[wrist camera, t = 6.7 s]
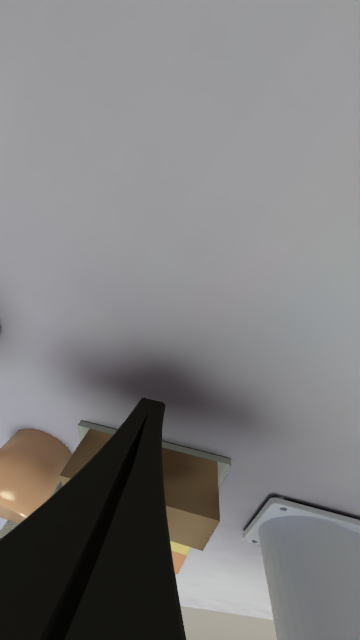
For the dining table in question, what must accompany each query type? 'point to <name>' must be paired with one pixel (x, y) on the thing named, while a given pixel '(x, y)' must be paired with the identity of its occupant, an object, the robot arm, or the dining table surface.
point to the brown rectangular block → (170, 489)
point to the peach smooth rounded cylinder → (29, 472)
